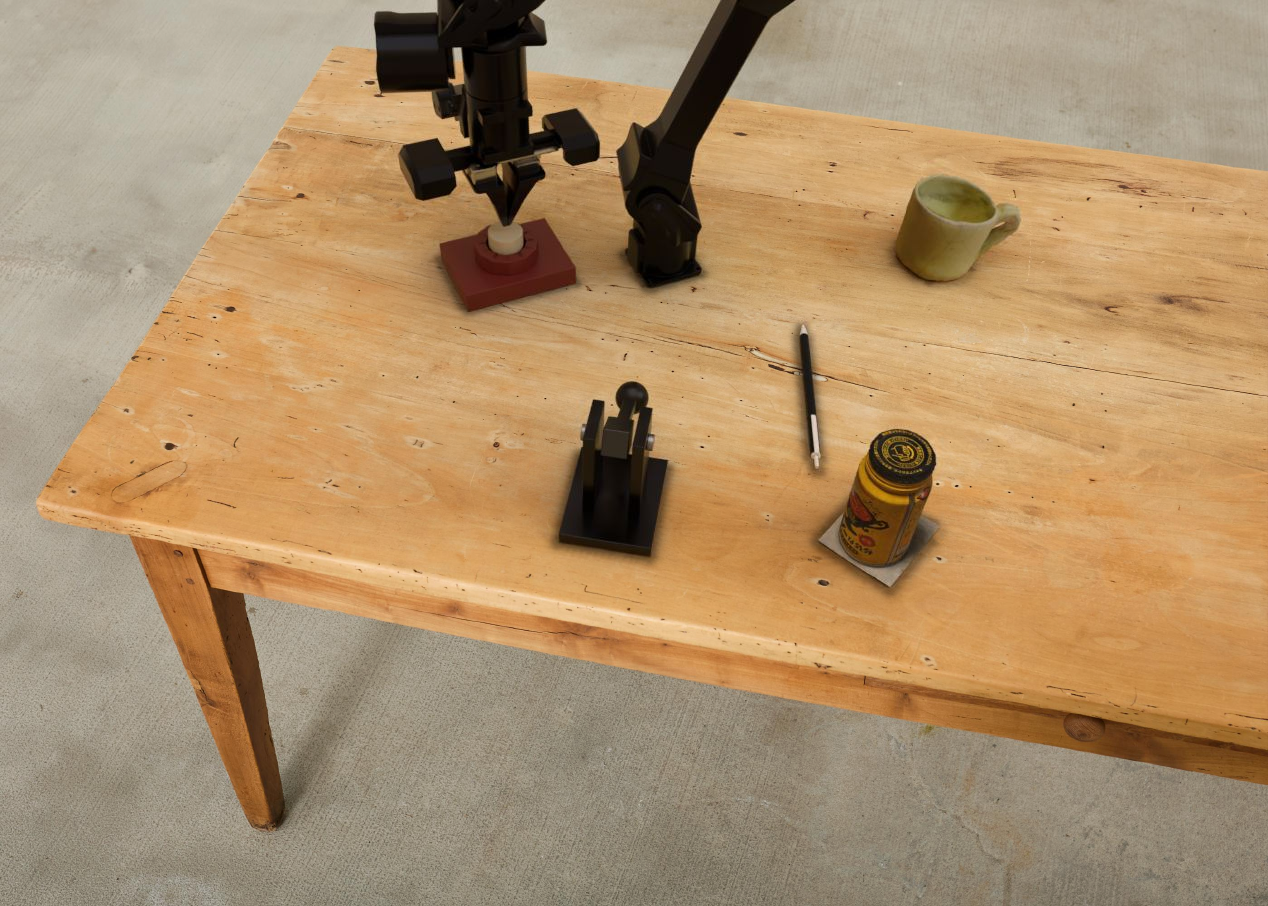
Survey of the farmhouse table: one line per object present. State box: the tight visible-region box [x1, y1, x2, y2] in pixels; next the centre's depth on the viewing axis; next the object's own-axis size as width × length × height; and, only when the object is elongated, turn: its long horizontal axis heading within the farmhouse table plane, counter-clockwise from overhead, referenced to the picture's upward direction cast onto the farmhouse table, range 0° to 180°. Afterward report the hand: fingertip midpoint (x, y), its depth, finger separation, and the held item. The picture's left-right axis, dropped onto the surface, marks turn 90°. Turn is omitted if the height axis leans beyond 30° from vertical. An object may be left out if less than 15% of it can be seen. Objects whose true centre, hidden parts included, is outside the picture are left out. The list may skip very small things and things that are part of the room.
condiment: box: [817, 428, 941, 588], centre depth 88 cm, size 7×8×12 cm
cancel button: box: [488, 220, 523, 255], centre depth 109 cm, size 4×4×2 cm
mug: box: [894, 173, 1022, 282], centre depth 114 cm, size 12×10×10 cm
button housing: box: [438, 217, 577, 313], centre depth 111 cm, size 12×9×4 cm
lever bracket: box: [558, 398, 669, 557], centre depth 89 cm, size 10×8×11 cm
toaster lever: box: [601, 380, 650, 459], centre depth 91 cm, size 12×3×3 cm, turn 171°
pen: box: [799, 324, 822, 470], centre depth 103 cm, size 1×19×1 cm, turn 178°
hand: (505, 223), depth 108 cm, fingers closed
